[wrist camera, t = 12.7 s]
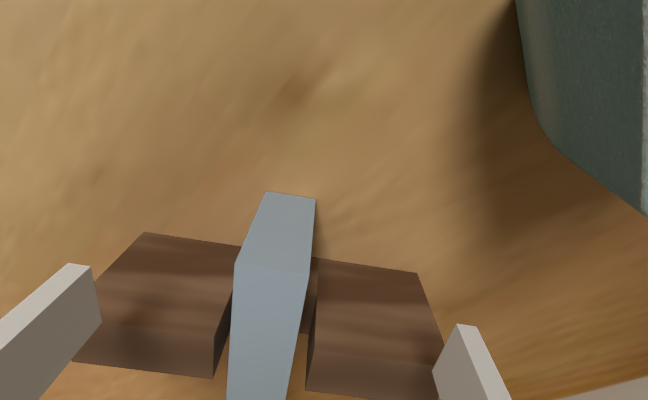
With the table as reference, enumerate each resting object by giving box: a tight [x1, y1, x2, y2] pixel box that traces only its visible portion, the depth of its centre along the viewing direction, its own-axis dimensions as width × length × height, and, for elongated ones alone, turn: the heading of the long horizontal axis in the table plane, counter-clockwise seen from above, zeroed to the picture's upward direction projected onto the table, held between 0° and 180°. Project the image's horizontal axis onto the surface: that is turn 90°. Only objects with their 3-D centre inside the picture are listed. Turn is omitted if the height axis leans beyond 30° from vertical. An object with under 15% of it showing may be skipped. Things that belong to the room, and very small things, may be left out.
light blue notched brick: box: [226, 191, 316, 400], centre depth 18 cm, size 12×3×7 cm, turn 170°
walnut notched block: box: [71, 232, 445, 400], centre depth 18 cm, size 3×18×7 cm, turn 80°
